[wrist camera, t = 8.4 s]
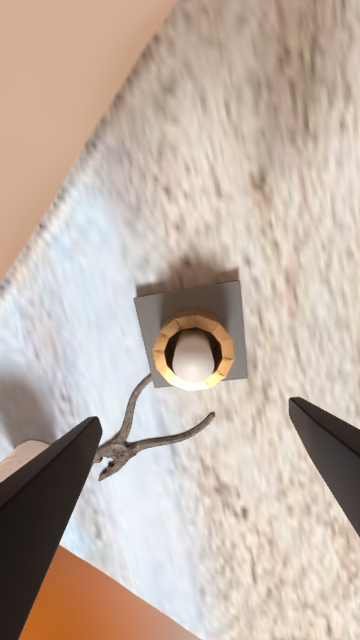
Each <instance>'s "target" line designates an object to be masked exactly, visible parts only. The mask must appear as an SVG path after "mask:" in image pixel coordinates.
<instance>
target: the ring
mask: <svg viewBox="0 0 360 640" xmlns="http://www.w3.org/2000/svg"><path fill="white" fill-rule="evenodd" d="M193 327H198V328H200V329H203V330H206V331H209V332H211V333H212V334H213V335H214V336H215V338H216V340H217V343H216V345H215V347H214V349H213V351H212V356H213V360H214V370H213V373H212V374H211V376H210V377H209V378H208V379H206V380H205V381H203V382H200V383H187V382H184V381H182V380H181V379H180V378H178V377H177V375H176V374H175V372H174V370H173V358H174V353H175V351H174V350H173V349H172V348H171V343H170V337H171V336H173V335H174V334H175V333H177V332H178V331H179V330H180V329H186V328H193ZM152 351H153V356H154V360H155V364H156V369H157V370H158V371H159V372H160V374H161V375H162V376H163V377H164V378H165V379H166V380H167V381H168V382H169V383H170V384H172V385H175V386H178V387H181V388H183V389H186V390H198V389H207V388H210V387H212V386H213V385H215V384H216V383H218V382H219V381H221V380H222V379H224V378H226V376H227V374H228V372H229V370H230V368H231V366H232V364H233V362H234V360H235V359H234V350H233V340H232V338H231V337H230V335H229V333H228V332H227V330H226V328H225V327H224V325H223V324H222V323H221V322H220V321H219V319H218V318H217V317H216V316H215V314H214V313H212V312H209V311H207V310H204V309H201V308H199V307H192V308H186V309H179V310H178V311H176V312H175V313H174V314H173V315H172V316H170V317H169V318H168V319H167V320H165V322H164V324H163V326H162V327H161V329H160V331H159V333H158V336H157V339H156V342H155V344H154V347H153V350H152Z"/></svg>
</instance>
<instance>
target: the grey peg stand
mask: <svg viewBox="0 0 360 640" xmlns="http://www.w3.org/2000/svg"><path fill="white" fill-rule="evenodd" d="M133 299H134V303H135V307H136V312H137V316H138V320H139V324H140V329H141V333H142V337H143V341H144V346H145V350H146V354H147V358H148V363H149V367H150V371H151V375H152V380H153V384H154V388H160V387H169V386H175V385H172V384H170V383H169V382H168V381H167V380H166V379H165V378H164V377H163V376H162V375H161V374H160V372H159V371H158V370H157V369H156V364H155V360H154V356H153V351H152V350H153V347H154V344H155V342H156V339H157V336H158V333H159V331H160V329H161V327H162V326H163V324H164V322H165V320H167V319H168V318H169V317H170V316H172V315H173V314H174V313H175V312H176V311H178V310H179V309H186V308H192V307H199V308H201V309H204V310H207V311H209V312H212V313H214V314H215V316H216V317H217V318H218V319H219V321H220V322H221V323H222V324H223V325H224V327H225V328H226V330H227V332H228V333H229V335H230V337H231V338H232V340H233V350H234V359H235V360H234V362H233V364H232V366H231V368H230V370H229V372H228V374H227V376H226V378H224V379H222V380H221V381H226V380H235V379H245V378H248V374H247V362H246V350H245V338H244V325H243V313H242V301H241V289H240V281H238V280H236V281H230V282H224V283H218V284H212V285H206V286H200V287H194V288H188V289H182V290H176V291H170V292H164V293H158V294H152V295H146V296H140V297H135V298H133ZM170 343H171V348H172V349H173V350H174V351H175V353H174V358H173V370H174V372H175V374H176V375H177V377H178V378H180V379H181V380H182V381H184V382H187V383H200V382H203V381H205V380H206V379H208V378H209V377H210V376H211V374H212V373H213V370H214V360H213V356H212V351H213V349H214V347H215V345H216V343H217V340H216V338H215V336H214V335H213V334H212V333H211V332H209V331H206V330H203V329H200V328H198V327H193V328H186V329H180V330H179V331H178V332H177V333H175V334H174V335H173V336H171V337H170Z"/></svg>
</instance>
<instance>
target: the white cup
mask: <svg viewBox="0 0 360 640" xmlns="http://www.w3.org/2000/svg"><path fill="white" fill-rule="evenodd" d="M49 446H50V445H49V444H46V443H44V442H41V441H35V440H28V441H26V442H24V443H21V444H19V445H18V446H17V447H16V448H15V449H14V450H13V451H12V452H11V453H10V454H9V455H8V456H7V457H6V458H4V459H3V461H1V462H0V483H1V482H2V481H3V480H5V479H6V478H7V477H9V476H10V475H11V474H13V473H14V472H15V471H17V470H18V469H19V468H21V467H22V466H23V465H25V464H26V463H27V462H29V461H30V460H31V459H33V458H34V457H35V456H37V455H38V454H40V453H41V452H42V451H44V450H45V449H46V448H48V447H49Z"/></svg>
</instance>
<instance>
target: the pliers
mask: <svg viewBox="0 0 360 640" xmlns="http://www.w3.org/2000/svg"><path fill="white" fill-rule="evenodd" d="M151 381H152V375H151V374H150V375H149V376H148V377H147V378H145V379H144V380H143V381H142V382H141V383H140V384H139V385H138V387H137V388H136V389H135V391H134V392H133V394H132V396H131V398H130V400H129V403H128V406H127V410H126V414H125V418H124V422H123V426H122V428H121V431H120V432H119V434H118V435H117V436H116V437H115V438H114V439H113V440H112V441H111V442H109V443H108V444H106V445H104V446H102V447H101V448H99V449H97V451H96V454H95V457H94V460H93V463H92V465H93V464H94V463H100V462H101V461H102V459H103V457H107V458H110V457H111V458H112V459H113V463H114V464H111V463H110V464H109V465H108V467H107V470H104V472H103V473H102V474H101V476H100V477H99V480H98V481H101V480H103V479H105V478H107V477H109V476H110V475H112V474H114V473H116V472H118V471H119V470H120V469H121V468H122V467H123V466H124V465H125V464H126V462H127V461H128V460H129V459H130V458H132V457H134V456H135V455H136V454H137V453H138V452H140V451H141V450H144V449H147V448H151V447H156V446H162V445H167V444H173V443H177V442H181V441H183V440H186V439H188V438H190V437H192V436H194V435H195V434H197V433H198V432H200V431H201V430H203V429H204V428H205V427H206V426H207V425H208V424H209V423H210V422H211V421H212V420H213V419H214V417H215V414H214V413H211V414H210V415H209V416H208V417H207V418H206V419H205V420H204V421H203V422H202V423H201V424H199V425H198V426H197V427H195V428H194V429H192V430H190V431H188V432H186V433H183V434H180V435H177V436H171V437H165V438H158V439H149V440H144V441H140V442H137V443H134V444H131V445H128V444H126V443H125V442H126V439H127V437H128V435H129V432H130V429H131V425H132V419H133V413H134V408H135V404H136V400H137V398H138V396H139V394H140V393H141V391H142V390H143V389H144V388H145V386H146V385H147V384H148V383H149V382H151ZM91 467H92V466H91Z"/></svg>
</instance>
